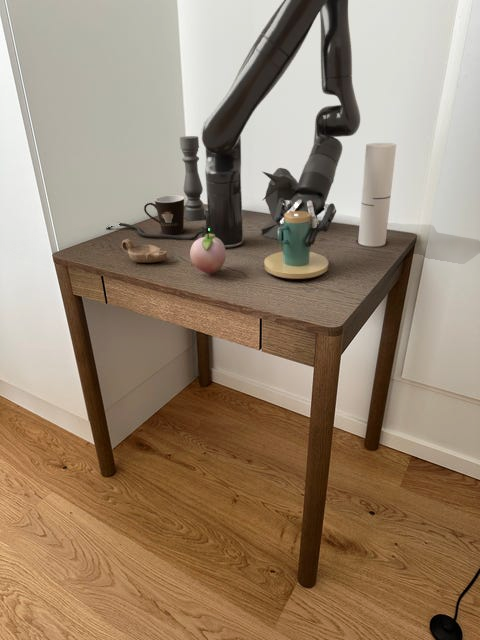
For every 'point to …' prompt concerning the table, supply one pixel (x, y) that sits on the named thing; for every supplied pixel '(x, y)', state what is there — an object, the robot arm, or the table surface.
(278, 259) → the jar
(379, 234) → the cylindrical container
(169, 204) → the coffee mug
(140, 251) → the oil lamp
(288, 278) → the turntable base
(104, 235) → the table surface
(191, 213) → the candle holder
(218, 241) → the decorative fruit
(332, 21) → the robot arm
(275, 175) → the narwhal figurine
